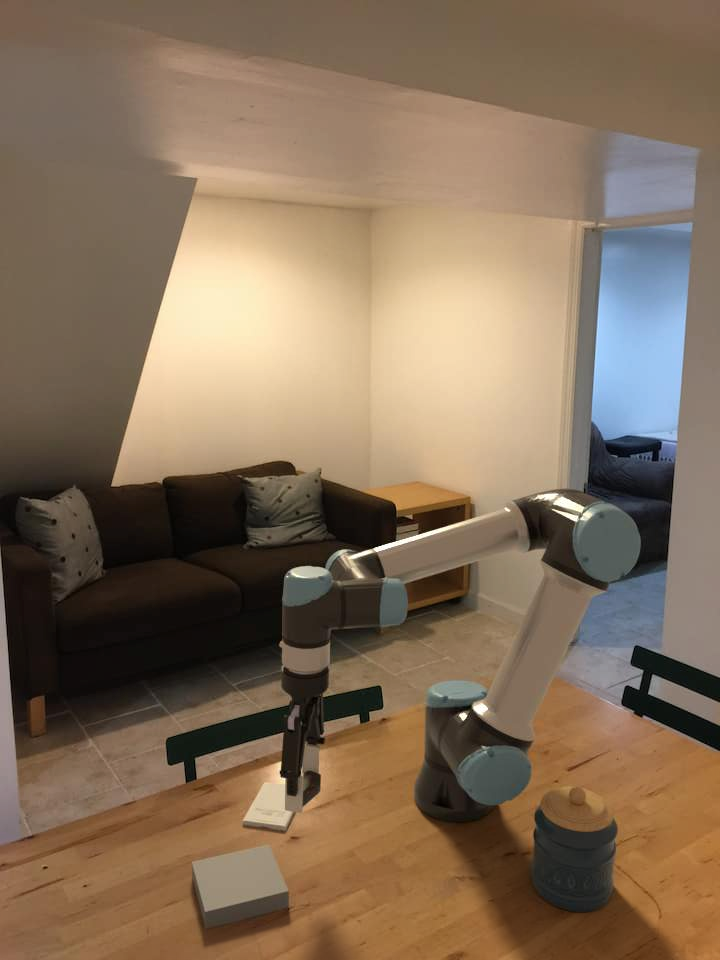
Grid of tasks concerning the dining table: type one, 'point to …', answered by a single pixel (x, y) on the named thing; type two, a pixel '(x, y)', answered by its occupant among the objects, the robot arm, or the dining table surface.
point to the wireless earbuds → (310, 786)
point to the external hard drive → (269, 808)
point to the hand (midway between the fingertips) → (302, 795)
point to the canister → (574, 849)
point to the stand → (239, 886)
